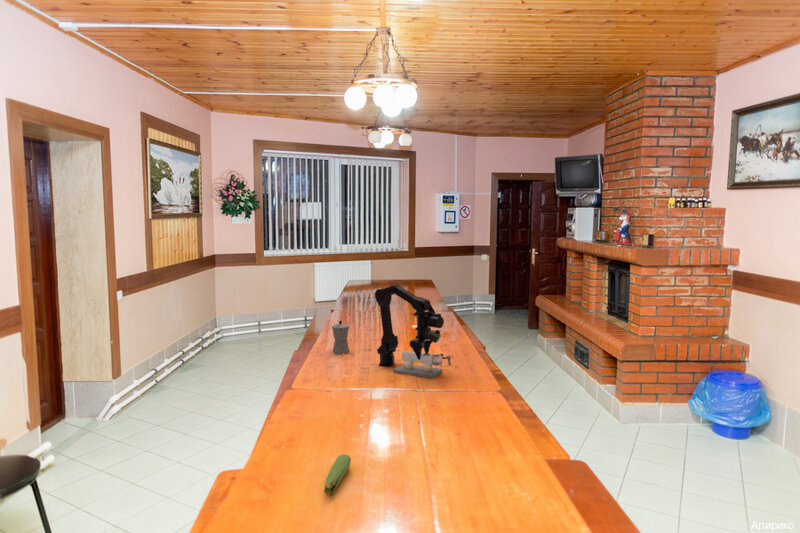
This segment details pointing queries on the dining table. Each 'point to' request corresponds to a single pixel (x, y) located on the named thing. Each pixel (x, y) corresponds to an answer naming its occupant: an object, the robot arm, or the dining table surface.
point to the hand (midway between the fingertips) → (423, 357)
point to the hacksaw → (448, 360)
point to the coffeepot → (340, 338)
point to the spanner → (422, 358)
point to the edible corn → (337, 472)
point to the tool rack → (418, 370)
